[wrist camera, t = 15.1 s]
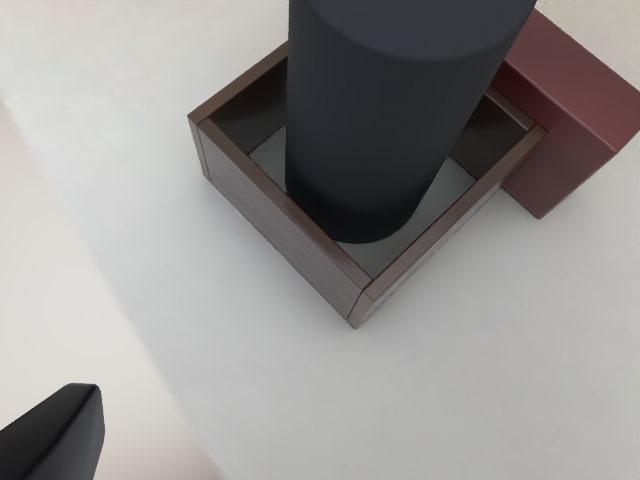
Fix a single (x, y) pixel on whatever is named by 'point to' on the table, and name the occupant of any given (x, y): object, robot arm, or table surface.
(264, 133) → the brown square frame
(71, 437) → the robot arm
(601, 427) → the table surface
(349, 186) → the dark grey cylinder
